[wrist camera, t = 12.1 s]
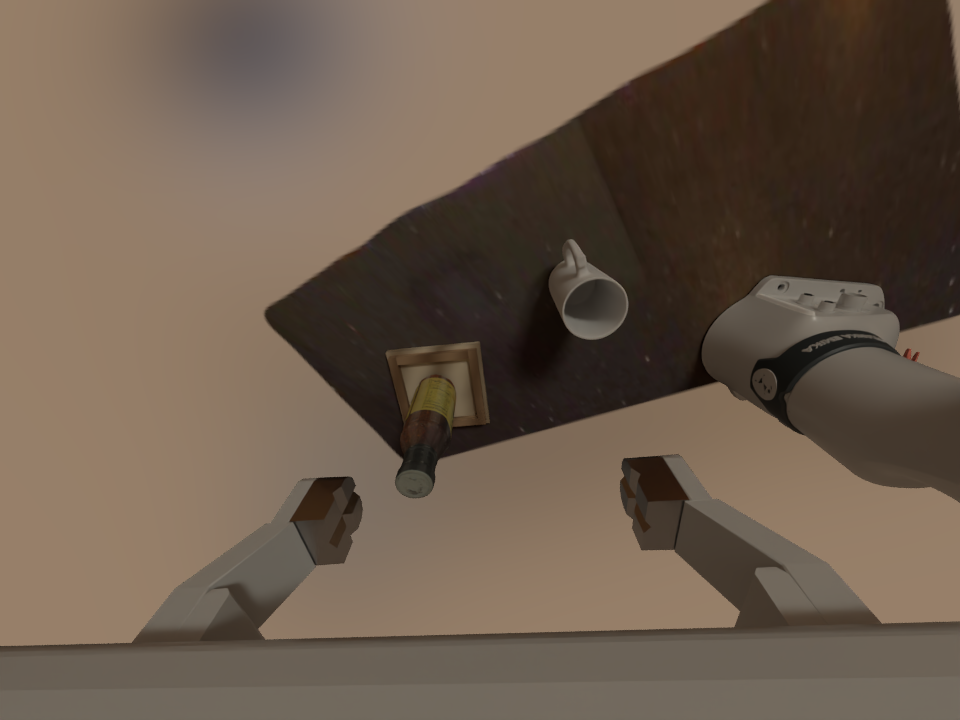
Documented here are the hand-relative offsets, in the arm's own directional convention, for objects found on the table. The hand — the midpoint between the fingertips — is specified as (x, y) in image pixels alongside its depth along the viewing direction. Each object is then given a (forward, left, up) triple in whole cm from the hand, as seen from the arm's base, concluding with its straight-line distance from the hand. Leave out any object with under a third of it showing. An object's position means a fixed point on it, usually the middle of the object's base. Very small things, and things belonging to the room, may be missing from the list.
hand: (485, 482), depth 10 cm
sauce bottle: (+10, +19, -38) cm, 44 cm away
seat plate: (+10, +19, -39) cm, 45 cm away
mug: (-10, +3, -39) cm, 41 cm away
